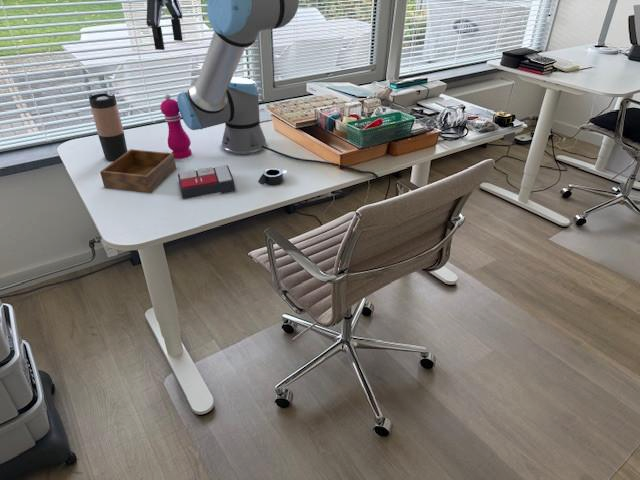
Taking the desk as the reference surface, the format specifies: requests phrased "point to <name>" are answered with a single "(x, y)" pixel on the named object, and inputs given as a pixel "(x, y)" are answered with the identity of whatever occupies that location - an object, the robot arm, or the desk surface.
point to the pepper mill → (175, 129)
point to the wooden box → (138, 171)
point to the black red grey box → (206, 181)
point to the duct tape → (272, 177)
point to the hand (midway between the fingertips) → (169, 45)
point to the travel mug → (108, 125)
